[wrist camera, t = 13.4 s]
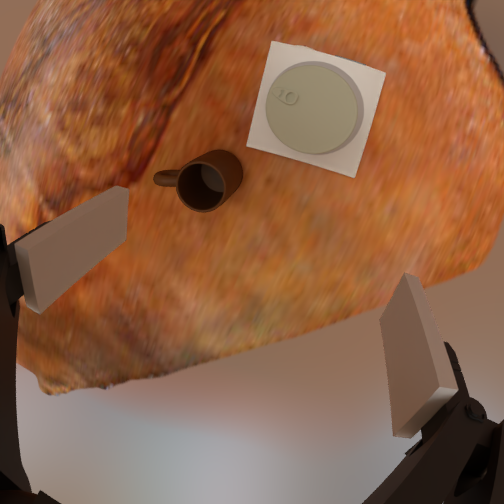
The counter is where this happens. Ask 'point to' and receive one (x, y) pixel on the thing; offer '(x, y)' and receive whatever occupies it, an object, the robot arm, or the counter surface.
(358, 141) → the scale
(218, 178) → the mug
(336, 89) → the can
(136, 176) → the counter surface
